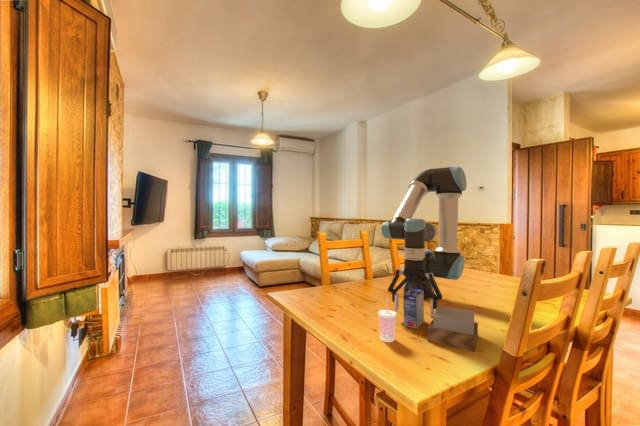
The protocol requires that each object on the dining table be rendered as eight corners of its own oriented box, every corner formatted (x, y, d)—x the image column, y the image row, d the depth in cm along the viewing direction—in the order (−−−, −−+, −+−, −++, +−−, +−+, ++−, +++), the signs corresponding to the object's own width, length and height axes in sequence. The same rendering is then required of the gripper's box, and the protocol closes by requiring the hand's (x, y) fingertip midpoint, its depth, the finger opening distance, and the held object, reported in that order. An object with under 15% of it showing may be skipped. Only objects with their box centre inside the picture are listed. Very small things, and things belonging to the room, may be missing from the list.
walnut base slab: (427, 342, 99) (427, 327, 99) (435, 328, 111) (435, 315, 111) (474, 353, 91) (474, 337, 91) (477, 336, 103) (477, 322, 103)
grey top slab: (433, 328, 98) (433, 316, 98) (437, 316, 109) (437, 305, 109) (473, 335, 93) (473, 322, 93) (474, 322, 103) (474, 311, 103)
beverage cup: (391, 344, 96) (391, 301, 96) (374, 339, 100) (374, 298, 100) (399, 338, 101) (399, 297, 100) (383, 333, 105) (383, 294, 104)
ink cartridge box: (410, 318, 120) (410, 282, 120) (424, 320, 117) (424, 284, 117) (402, 326, 112) (402, 287, 111) (417, 329, 108) (417, 290, 108)
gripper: (380, 256, 117) (379, 310, 118) (447, 263, 104) (446, 323, 104) (386, 254, 124) (386, 305, 124) (451, 260, 110) (450, 316, 111)
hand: (413, 313), depth 114 cm, fingers open, 13 cm apart
